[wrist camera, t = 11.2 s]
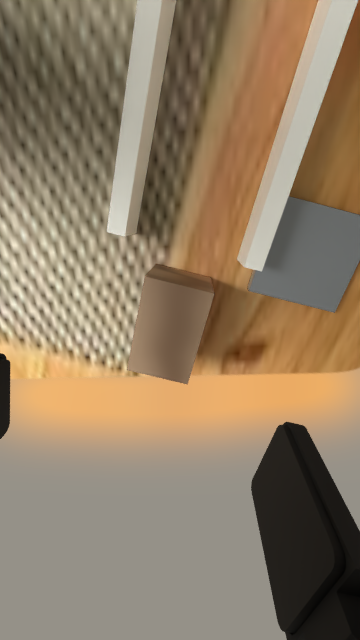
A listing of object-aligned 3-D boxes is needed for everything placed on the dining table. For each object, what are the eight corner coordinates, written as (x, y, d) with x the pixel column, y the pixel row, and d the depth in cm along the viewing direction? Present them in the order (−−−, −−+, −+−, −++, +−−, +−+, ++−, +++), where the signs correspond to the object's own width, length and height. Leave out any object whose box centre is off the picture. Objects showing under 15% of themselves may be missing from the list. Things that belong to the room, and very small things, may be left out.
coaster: (246, 288, 22) (248, 291, 21) (278, 195, 19) (282, 194, 18) (329, 309, 22) (334, 312, 21) (372, 220, 19) (379, 220, 19)
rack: (120, 229, 21) (106, 231, 17) (178, -151, 14) (173, -267, 10) (251, 263, 21) (261, 271, 18) (371, -93, 14) (425, -188, 11)
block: (140, 340, 24) (126, 369, 19) (156, 263, 21) (145, 276, 17) (189, 352, 24) (187, 384, 19) (210, 277, 22) (214, 293, 17)
